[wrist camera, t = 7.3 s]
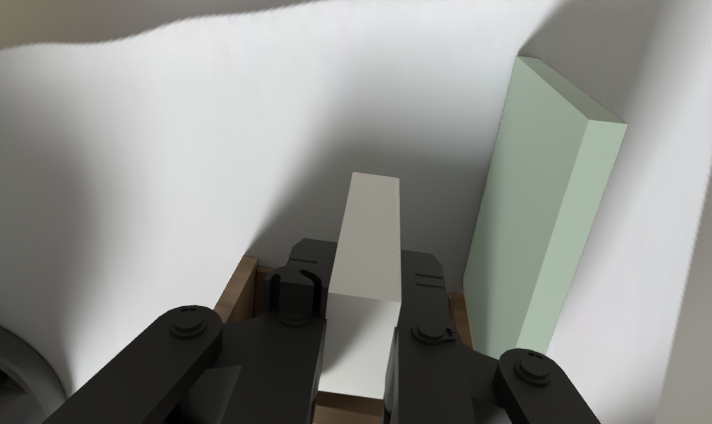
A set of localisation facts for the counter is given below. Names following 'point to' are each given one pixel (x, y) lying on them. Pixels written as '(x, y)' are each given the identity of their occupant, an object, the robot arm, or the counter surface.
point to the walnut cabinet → (333, 410)
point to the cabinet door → (536, 208)
